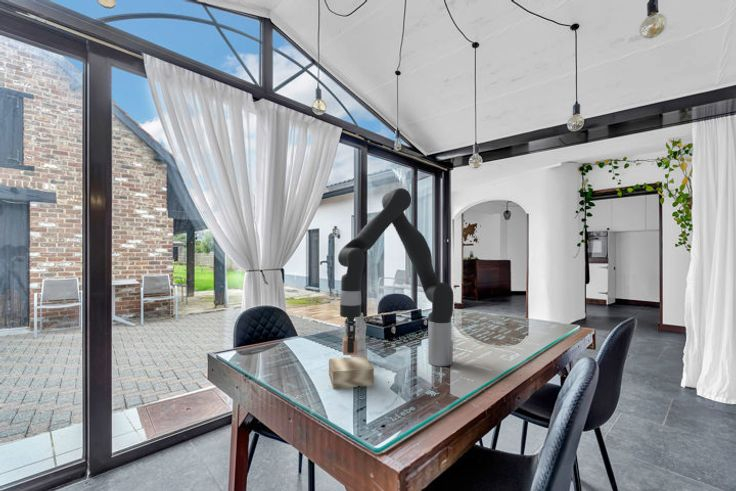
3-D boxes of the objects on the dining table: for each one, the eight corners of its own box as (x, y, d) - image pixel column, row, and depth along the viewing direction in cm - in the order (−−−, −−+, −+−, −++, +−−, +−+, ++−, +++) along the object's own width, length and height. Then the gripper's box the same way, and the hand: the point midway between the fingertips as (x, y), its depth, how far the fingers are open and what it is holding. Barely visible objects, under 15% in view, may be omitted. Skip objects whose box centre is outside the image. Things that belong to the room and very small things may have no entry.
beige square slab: (365, 372, 131) (365, 356, 131) (373, 386, 117) (373, 368, 118) (328, 374, 128) (328, 358, 128) (333, 389, 114) (333, 371, 115)
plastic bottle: (364, 364, 139) (365, 315, 140) (348, 363, 141) (349, 314, 141) (368, 359, 146) (368, 312, 146) (352, 358, 147) (352, 311, 147)
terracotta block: (356, 350, 126) (356, 337, 126) (357, 354, 121) (357, 340, 121) (342, 351, 125) (342, 337, 125) (343, 355, 120) (343, 340, 120)
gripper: (363, 306, 117) (362, 356, 116) (359, 300, 131) (358, 344, 131) (341, 306, 116) (340, 356, 115) (339, 300, 130) (338, 345, 130)
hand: (350, 350), depth 123 cm, fingers closed on terracotta block, 5 cm apart
